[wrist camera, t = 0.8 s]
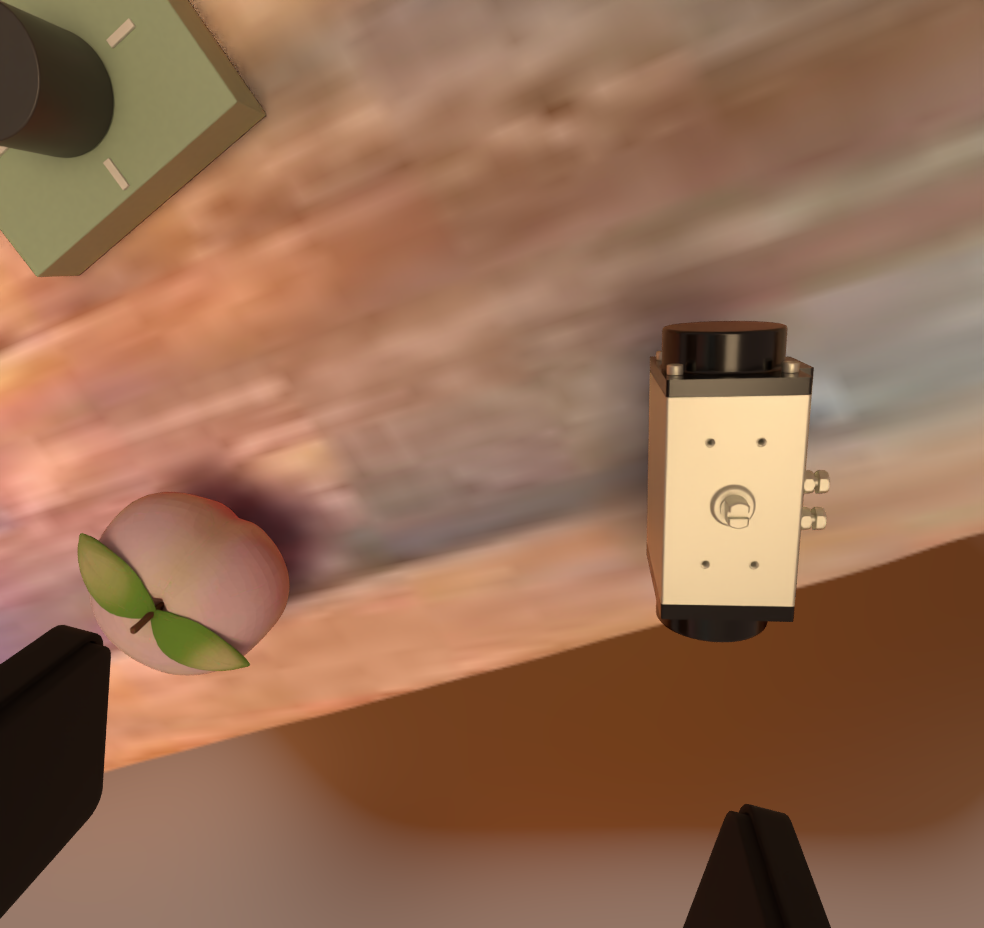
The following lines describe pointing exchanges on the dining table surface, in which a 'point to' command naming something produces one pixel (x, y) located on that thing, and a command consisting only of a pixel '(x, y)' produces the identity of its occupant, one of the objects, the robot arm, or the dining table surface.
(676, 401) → the pneumatic valve
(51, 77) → the dial knob
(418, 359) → the dining table surface
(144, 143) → the dial panel
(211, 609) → the decorative fruit
